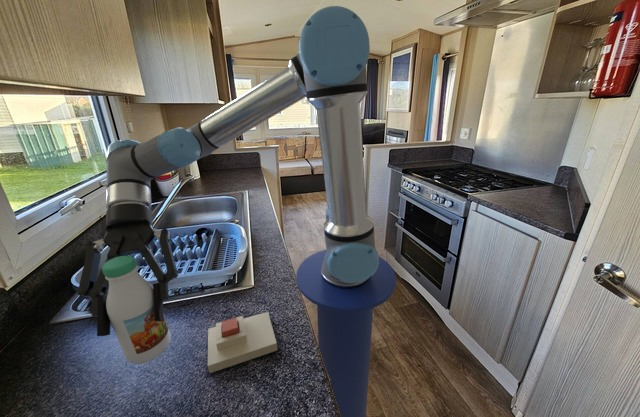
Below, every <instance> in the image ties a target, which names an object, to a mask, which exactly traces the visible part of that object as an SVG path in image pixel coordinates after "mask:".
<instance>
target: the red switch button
mask: <svg viewBox="0 0 640 417" xmlns="http://www.w3.org/2000/svg"><path fill="white" fill-rule="evenodd" d="M221 322H222V334H223V338H225V337H228V336H231V335H235V334H238V333H239V332H238V323H237V317H233V318H230V319H226V320H222V321H221Z"/></svg>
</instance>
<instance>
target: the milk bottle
mask: <svg viewBox="0 0 640 417" xmlns="http://www.w3.org/2000/svg"><path fill="white" fill-rule="evenodd" d="M105 262H106V261H105ZM105 262H104V264H102V266H101V270H102V271H103V274H104V275H105V279H106V280H108V281H109V288H108V290H107V300H106V309H107V313H108V316H109V319H110V325H111V327H112V330H113V332H114V334H115V336H116V339H117V341H118V344H119V346H120V348H121V350H122V353H123V356H124V357H125V359H126V360H127V361H128V362H129V363H131V364H134V365H141V364H144V363H149V362H151V361H153V360H154V359H156V358H158V357H159V356H161V355H162V354H163V353H164V352H165V351H166V350H167V349H168V347H169V346H170V343H171V340H172V336H171V331H170V329H169V328H170V327H169V326H168V322H167V319H166V316H165V315H164V320H163V321H160V322H159V321H155V313H154V294H153V284H151V283H150V282H149V281H148V280H147V279H146V278H144V277H143V276H142V274H140V273H139V271H138V265H137V261H136V258H135V257H134V256H133V255H128V256H120V257H116V258H113V259H111V260H109V261H107V262H106V263H105Z"/></svg>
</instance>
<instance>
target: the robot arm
mask: <svg viewBox="0 0 640 417" xmlns="http://www.w3.org/2000/svg"><path fill="white" fill-rule="evenodd" d="M370 48H371V45H370V37H369V32H368V29H367V27H366V25H365V23H364V21H363V20H362V18H361V17H360V16H358V14H357V13H356V12H354V11H353V10H351V9H349V8H348V7H344V6H339V5H330V6H326V7H323V8H321V9H319V10H317V11H316V12H314V13H313V14H312V15H311V16H310V17H309V18H308V20H306V22H305V24H304V26H303V28H302V30H301V32H300V38H299V42H298V54H296V55H295V56H293V57H292V58H290V59H289V61H288V66H287V67H285V68H284V69H282V70H280V71H278V72H277V73H276V74H274V75H272V76H271V77H269V78H268V79H266V80H264V81H262V82H261V83H260V84H258V85H257V86H255V87H253V88H251V89H250V90H248V91H247V92H244V93H243V94H242V95H240V96H238V97H237V98H236V99H234V100H232V101H230V102H229V103H227V104H226V105H224V106H222V107H221V108H220V109H218V110H216V111H214V112H213V113H211V114H210V115H208V116H207V117H204V118H203V119H202V120H200V121H199V122H197V123H195V124H194V125H192V126H190V127H189V128H187V129H186V128H184V127H181V126H179V127H175V128H172V129H169V130H164V131H163V132H161V133H159V134H158V135H156V136H154V137H152V138H149V139H147V140H146V141H143V142H140V141H137V140H133V139H124V140H120V139H117V140H115V141H113V142H111V143H110V144H109V145H108V147H107V155H106V159H105V165H106V197H105V199H106V201H105V208H106V211H105V230H106V232H105V234H104V236H103V237H102V238H100V239H97V240H94V241H93V240H86V241H85V242H84V247H85V253H86V254H85V258H84V263H83V267H82V272H81V276H80V281H79V285H78V289H77V295H78V296H80V297H85V298H90V300H91V308H90V315H91V316H92V317H93V318H97V319H96V337H107V336H110V335H111V322H110V319H109V316H108V313H107V309H106V300H107V296H108V294H107V293H108V291H109V281H108V280H106V279H105V275H104V274H103V271H102V269H101V270H100V272H99V268H100V263H101V259H102V253H103V251H104V247H105V246H107V247H108V248H109V250H108V252H107V254H106V260H105V262H104V264H105V263H106V262H107V261H109V260H111V259H113V258H116V257H120V256H132V255H134V254H135V255H136V254H137V255H138V254H141V255H142V256H143V258H144V260H145V262H146V264H147V266H148V267H149V268H150V271H151V272H152V273H153V275H154V277H155V279H156V281H157V282H155V283H152V286H153V294H154V313H155V321H159V322H160V321H163V320H164V316H165V311H164V302H165V301H168V300H169V298H170V295H169V282H170V281H172V280H174V279H177V278H178V277H179V272H178V269H177V264H176V261H175V257H174V254H173V251H172V247H171V238H172V234H171V232H170V231H169V230H168V229H167V228H162V229H161V230H160V229H159V230H156V229H154V226H153V224H154V223H153V210H152V190H151V189H152V187H151V181H152V180H154V179H158V178H160V177H161V176H164V175H166V174H169V173H171V172H174V171H176V170H179V169H181V168H186V167H188V166H189V165H192V164H193V163H194V162H197V161H199V160H200V159H202V158H203V159H204V158H206V157H208V156H210V155H211V154H213V153H214V152H215V151H217V150H218V149H220V148H222V147H223V146H225V145H226V144H228V143H230V142H232V141H233V140H235V139H237V138H238V137H240V136H242V135H243V134H245V133H247V132H249V131H250V130H252V129H254V128H256V127H257V126H259V125H260V124H262V123H264V122H266V121H267V120H269V119H271V118H273V117H275V116H276V115H277V114H279V113H281V112H283V111H285V110H287V109H288V108H290V107H291V106H293V105H295V104H296V103H298V102H300V101H302V100H303V99H306V101H307V103H309V104H310V105H311V106H312V107H314V109H315V111H316V120H317V127H318V137H319V146H320V153H321V162H322V170H323V171H322V172H323V178H324V187H325V196H326V204H327V205H326V206H327V207H326V208H325V215H324V216H325V221H324V223H323V233H324V241H325V250H327V252H326V255H325V257H324V260H323V263H322V267H321V276H322V278H323V280H324V281H325V282H326V283H328V284H329V285H331V286H334V287H337V288H342V289H351V288H357V287H360V286H362V285H364V284H365V283H366V282H367V281H368V280H369V277H370V276H372V275H373V274H374V273H375V272H376V270H377V268H378V265H379V257H380V255H379V253H378V251H377V249H376V241H375V224H374V223H375V222H374V220H373V218H372V217H371V216H369V215H368V210H367V202H366V200H367V198H366V184H365V169H364V167H365V166H364V151H363V150H364V149H363V134H362V133H363V132H362V118H361V102H362V101H363V100H364V99H365V97H366V96H367V94H368V78H367V64H368V60H369V57H370V51H371V49H370ZM155 238H156V240H158V242H159V243H160V248H161V252H162V256H163V260H164V264H165V267H166V272H164V270H163V269H162V267H161V265H160V263H159V261H158V260H157V258H156V257H155V255H154V253H153V251H152V250H151V248H150V245H151V243H152V242H153V240H154V239H155ZM98 273H99V274H98ZM106 294H107V295H106Z"/></svg>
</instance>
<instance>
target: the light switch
mask: <svg viewBox="0 0 640 417" xmlns="http://www.w3.org/2000/svg"><path fill="white" fill-rule="evenodd" d="M236 318H237V323H238V332H239V333H238V334H235V335H231V336H228V337H225V338H223V334H222V321H220V322H216V323H215V326H212V327H209V328H208V329H207V369H208V373H209V374H212V373H215V372H218V371H221V370H223V369H226V368H230V367H233V366H236V365H239V364H242V363H245V362H247V361H251V360H253V359H257V358H259V357H262V356H265V355H269V354H270V353H273V352H276V351H278V343H277V339H276V335H275V332H274V328H273V324H272V320H271V318H270V313H269V311H265V312H262V313H259V314H258V313H257V314H255V315H251V316H248V317H245V318H244V315H241V316H237V317H236Z"/></svg>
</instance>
